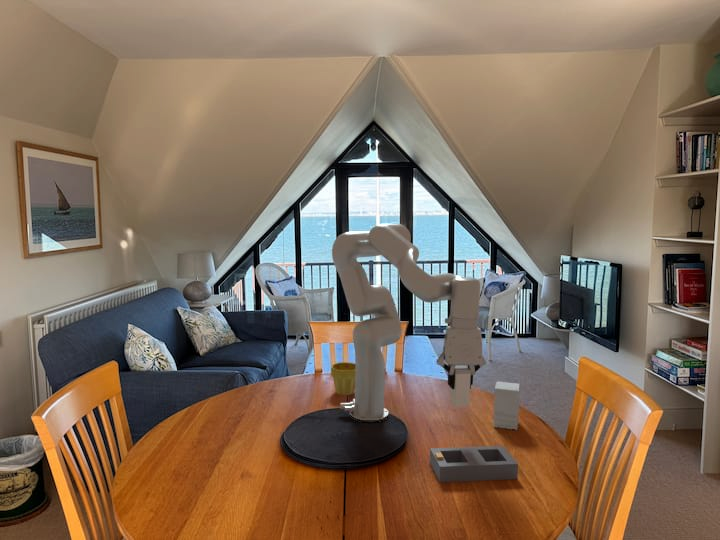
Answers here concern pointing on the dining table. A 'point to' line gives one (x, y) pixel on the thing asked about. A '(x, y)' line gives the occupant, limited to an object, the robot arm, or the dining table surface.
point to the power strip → (473, 463)
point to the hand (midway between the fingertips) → (459, 386)
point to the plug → (461, 386)
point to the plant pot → (344, 377)
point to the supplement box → (506, 405)
